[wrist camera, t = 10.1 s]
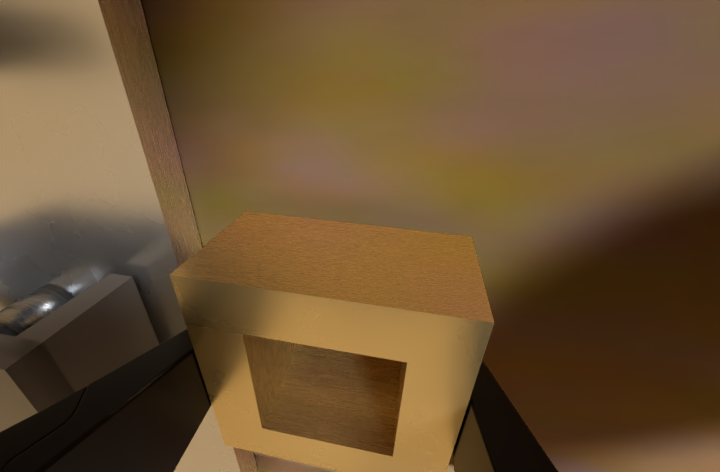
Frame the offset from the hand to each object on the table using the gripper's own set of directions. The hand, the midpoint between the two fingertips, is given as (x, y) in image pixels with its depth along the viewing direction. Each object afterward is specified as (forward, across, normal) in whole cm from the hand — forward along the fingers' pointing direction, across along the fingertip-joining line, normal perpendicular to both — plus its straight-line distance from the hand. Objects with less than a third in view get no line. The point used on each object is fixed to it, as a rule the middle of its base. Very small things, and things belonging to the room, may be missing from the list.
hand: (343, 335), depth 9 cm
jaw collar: (+1, 0, 0) cm, 1 cm away
